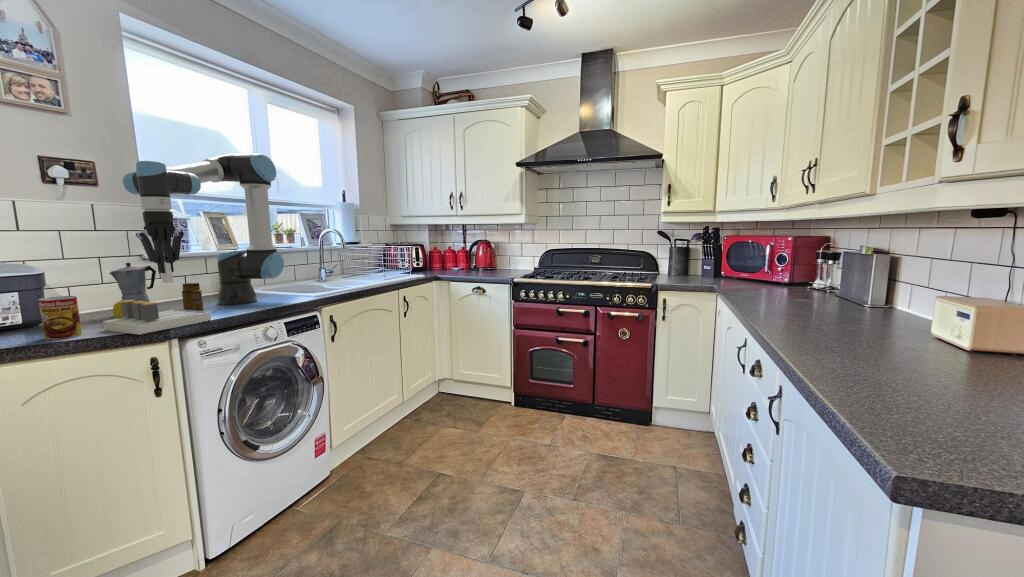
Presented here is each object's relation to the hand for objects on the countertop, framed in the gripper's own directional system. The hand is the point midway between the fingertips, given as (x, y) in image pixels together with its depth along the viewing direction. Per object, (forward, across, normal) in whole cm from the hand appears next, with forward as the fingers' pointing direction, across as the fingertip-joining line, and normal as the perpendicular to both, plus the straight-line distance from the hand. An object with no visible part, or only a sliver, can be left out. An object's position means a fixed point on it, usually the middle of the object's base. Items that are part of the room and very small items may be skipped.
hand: (167, 282), depth 139 cm
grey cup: (+11, -6, +6) cm, 14 cm away
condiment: (+16, +16, +16) cm, 27 cm away
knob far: (+11, -6, +12) cm, 17 cm away
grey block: (+11, -7, 0) cm, 13 cm away
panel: (+15, -1, +6) cm, 16 cm away
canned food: (+15, -21, +17) cm, 31 cm away
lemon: (+15, -2, +24) cm, 28 cm away
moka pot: (+16, +11, +41) cm, 45 cm away
